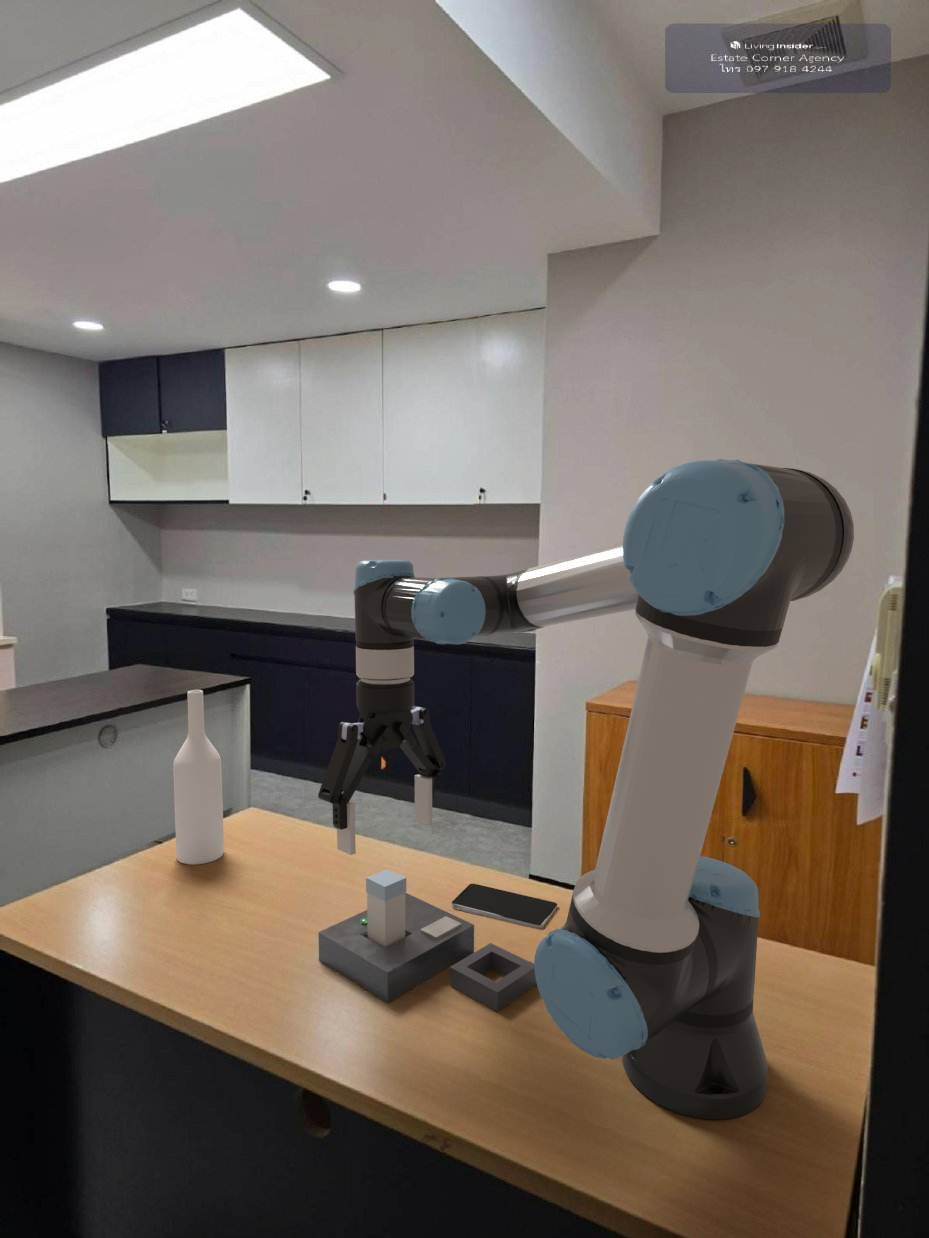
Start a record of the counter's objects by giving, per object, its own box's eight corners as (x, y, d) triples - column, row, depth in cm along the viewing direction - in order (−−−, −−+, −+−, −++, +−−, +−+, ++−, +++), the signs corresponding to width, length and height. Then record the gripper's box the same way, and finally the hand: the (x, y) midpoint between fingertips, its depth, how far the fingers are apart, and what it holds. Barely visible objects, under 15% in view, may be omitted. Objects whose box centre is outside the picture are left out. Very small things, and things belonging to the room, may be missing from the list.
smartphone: (541, 926, 113) (449, 903, 119) (541, 933, 113) (449, 910, 119) (558, 902, 120) (471, 882, 126) (558, 909, 120) (471, 889, 127)
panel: (473, 951, 107) (474, 921, 106) (387, 1002, 95) (387, 969, 95) (405, 917, 116) (405, 889, 116) (318, 959, 104) (318, 929, 104)
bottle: (233, 854, 138) (228, 690, 135) (193, 869, 132) (187, 698, 129) (207, 842, 143) (202, 684, 140) (167, 856, 137) (161, 691, 134)
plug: (406, 961, 104) (406, 877, 103) (385, 973, 101) (384, 886, 100) (387, 951, 107) (387, 868, 105) (366, 962, 104) (366, 877, 103)
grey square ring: (537, 983, 99) (537, 965, 99) (497, 1011, 94) (497, 992, 93) (490, 960, 105) (490, 942, 104) (449, 985, 99) (449, 966, 99)
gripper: (432, 664, 111) (433, 805, 114) (287, 688, 93) (291, 856, 95) (470, 669, 106) (470, 818, 109) (325, 696, 88) (328, 874, 90)
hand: (386, 836), depth 102 cm, fingers open, 13 cm apart
